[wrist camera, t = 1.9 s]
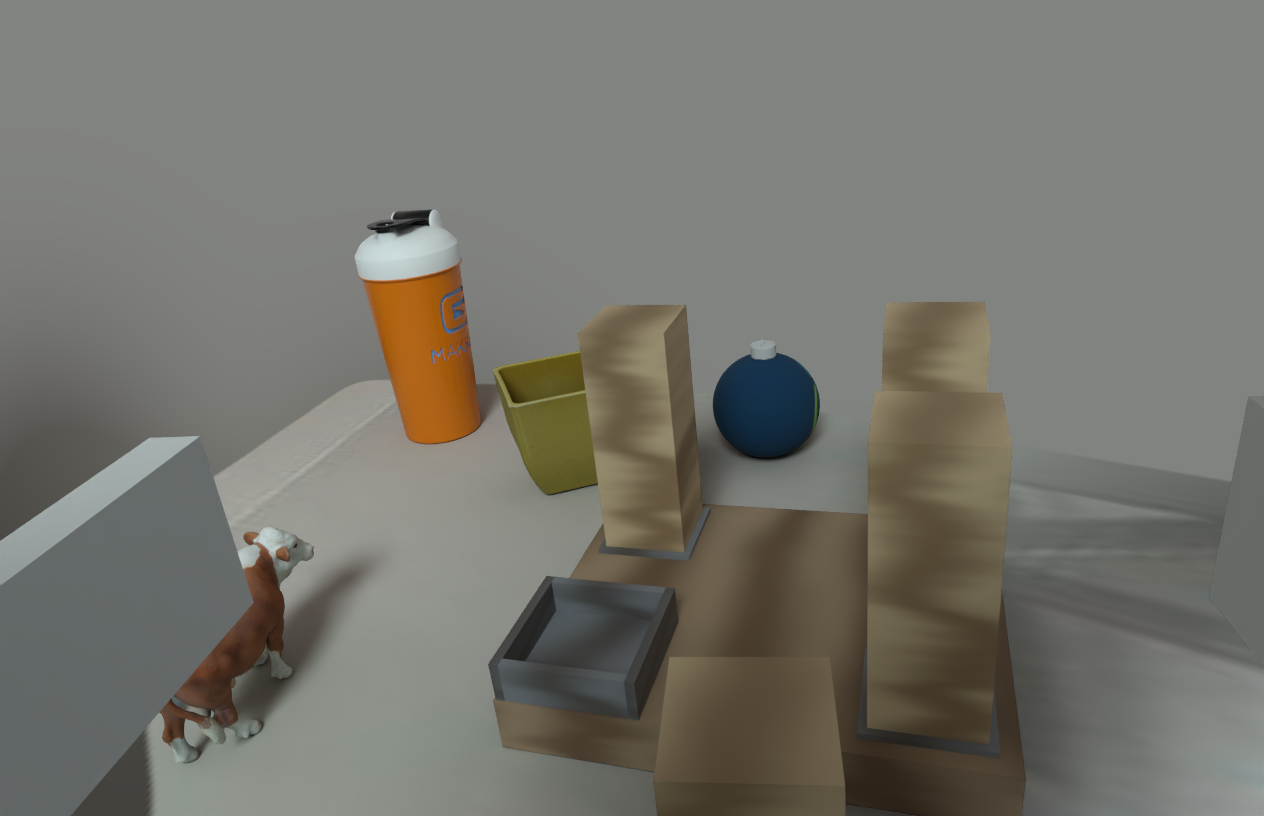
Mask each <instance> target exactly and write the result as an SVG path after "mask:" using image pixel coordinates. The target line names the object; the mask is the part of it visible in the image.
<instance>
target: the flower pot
mask: <svg viewBox="0 0 1264 816" xmlns="http://www.w3.org/2000/svg"><path fill="white" fill-rule="evenodd" d="M493 373H494V376H495V380H496V384H497V387H498V391H499V394H500V398H501V401H502V405H503V409H504V412H505V416H506V419H507V423H508V425H509V428H510V431H511V433H512V435H513V438H514V440H515V442H516V444H517V446H518V448H519V451H520V453H521V456H522V459H523V461H524V464H525V466H526V468H527V470H528V472H529V474H530V476H531V477H532V479H533V480H534V482H535V483H536V484H537V486H538V487H539V488H540V489H541V490H542V491H543V492H544V493H545V494H554V493H558V492H563V491H567V490H571V489H576V488H580V487H584V486H589V485H593V484H598V480H597V473H596V465H595V458H594V450H593V443H592V436H591V428H590V421H589V413H588V406H587V399H586V391H585V384H584V376H583V369H582V362H581V354H580V351H576V352H571V353H566V354H561V355H556V356H551V357H546V358H541V359H536V360H531V361H525V362H520V363H515V364H510V365H504V366H501V367H497V368H495V369H493Z"/></svg>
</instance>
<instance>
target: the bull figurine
mask: <svg viewBox="0 0 1264 816" xmlns="http://www.w3.org/2000/svg"><path fill="white" fill-rule="evenodd" d="M244 540H245V542H246V543H247V544H249V545H250V546H247V547H245V548H242V549H241V550H239V551H238V555H239V558H240V561H241V564H242V568H243V571H244V574H245V577H246V580H247V583H248V586H249V589H250V592H251V595H252V598H253V601H254V603H253V604H252V605H251V606H250V607H249V608H248V610H247V611H246V612H245V613H244V614H243V615H242V617H241V618H240V619H239V620H238V621H237V622H236V624H235V625H234V626H233V627H232V628H231V629H230V631H229V632H228V633H227V634H226V635H225V636H224V638H223V639H222V640H221V641H220V642H219V643H218V645H217V646H216V647H215V648H214V649H213V650H212V652H211V653H210V654H209V655H208V656H207V657H206V658H205V660H204V661H203V662H202V663H201V664H200V665H199V667H198V668H197V669H196V670H195V671H194V672H193V674H192V675H191V676H190V677H189V678H188V679H187V681H186V682H185V683H184V684H183V685H182V686H181V688H180V689H179V690H178V691H177V692H176V693H175V695H174V696H173V697H172V698H171V699H170V700H169V702H168V703H167V704H166V705H165V706H164V707H163V709H162V710H161V711H160V713H161V714H162V715H163V718H164V722H165V728H164V731H163V737H162V738H163V741H164V742H166V743H168V744H169V745H170V747H171V748H172V749H173V751H174V753H175V762H176V763H180V762H184V763H189V762H193V761H194V760H196V759H197V758H198V757H199V755H200V751H199V750H198V749H196V748H195V747H193V746H191V745H189V744H188V743H187V741H186V739H185V736H184V722H185V719H188V720H192V721H194V722H196V723H197V724H198V725H199V727H200V729H201V730H202V732H203V733H204V734H205V735H206V736H209V738H210V739H211V740H212V741H213V742H214V743H216V744H223V743H224V742H225V740H226V736H225V733H224V730H223V728H225V727H227V728H230V729H232V730H234V731H235V732H236V736H237V737H238V738H242V737H243V738H248V737H249V734H251V735H253V734H257V733H258V732H259V731H260V730H261V728H262V723H261V722H260V721H258V720H255V719H247V718H244V717H242V716H241V715H240V714H239V713H238V712H237V711H236V709H235V707H234V705H233V703H232V692H231V688H233V687H234V686H235V683H236V680H235V678H236V677H239V676H241V675H243V674H244V673H246V672H247V671H249V670H250V669H251V668H252V667H253V666H257V665H258V664H259V665H261V664H264V663H265V662H267V661H268V659H269V656H268V655H267V654H266V653H263V651H264V649H265V646H266V643H267V651H268V652H269V655H270V657H271V676H272V677H277V678H279V679H282V678H289V677H291V676H292V675H293V673H294V670H293V669H292V668H290V667H289V666H287V665H286V664H285V663H284V661H283V660H282V657H281V654H282V650H283V646H284V644H283V640H282V634H283V629H284V619H283V614H284V608H285V604H284V598H283V595H282V592H281V591H280V583H281V582H282V581H283V580H284V579H286V578H287V577H288V576H289V575H290V573H291V572H292V569H293V568H294V566H296V565H297V564H298V562H299V561H302V560H304V561H308V560H310V559H311V558H312V557H313V555H314V552H313V549H314V547H313V546H312V545H310V544H309V543H307V542H304V541H303V540H301V539H299V538H298V537H297V536H296V535H294V534H292V533H289V532H287V531H284V530H279V529H277V528H274V527H271V526H268V527H265V528H263V529H262V531H261V532H260V534H258V533H255V532H246V533H245V534H244ZM185 709H187V710H188V711H187V710H185ZM211 710H212V711H213V712H214V717H213V718H211V717H210V716H211Z"/></svg>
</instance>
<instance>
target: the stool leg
mask: <svg viewBox="0 0 1264 816" xmlns="http://www.w3.org/2000/svg"><path fill="white" fill-rule="evenodd" d="M653 782H654V790H655V798H656V806H657V814H658V816H845V780H844V772H843V763H842V755H841V747H840V739H839V731H838V722H837V714H836V706H835V698H834V690H833V681H832V673H831V665H830V657H669V664H668V672H667V680H666V688H665V695H664V703H663V711H662V719H661V726H660V734H659V742H658V750H657V757H656V765H655V773H654V781H653Z"/></svg>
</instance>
